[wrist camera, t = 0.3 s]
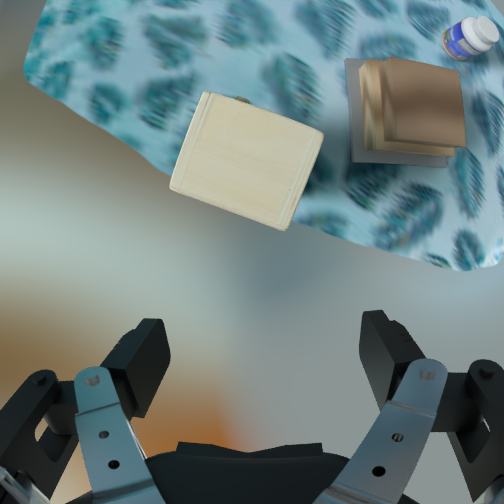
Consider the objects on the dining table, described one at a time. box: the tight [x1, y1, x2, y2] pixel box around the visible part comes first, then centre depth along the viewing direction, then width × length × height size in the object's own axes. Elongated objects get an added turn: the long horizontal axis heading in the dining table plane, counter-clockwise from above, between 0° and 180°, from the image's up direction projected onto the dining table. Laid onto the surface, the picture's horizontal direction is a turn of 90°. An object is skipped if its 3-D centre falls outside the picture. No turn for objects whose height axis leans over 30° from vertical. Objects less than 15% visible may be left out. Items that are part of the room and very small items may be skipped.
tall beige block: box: [170, 91, 325, 231], centre depth 27 cm, size 8×7×21 cm
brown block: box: [359, 57, 466, 156], centre depth 29 cm, size 11×11×8 cm
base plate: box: [344, 58, 446, 168], centre depth 33 cm, size 14×14×1 cm
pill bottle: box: [442, 16, 499, 61], centre depth 25 cm, size 5×5×10 cm
